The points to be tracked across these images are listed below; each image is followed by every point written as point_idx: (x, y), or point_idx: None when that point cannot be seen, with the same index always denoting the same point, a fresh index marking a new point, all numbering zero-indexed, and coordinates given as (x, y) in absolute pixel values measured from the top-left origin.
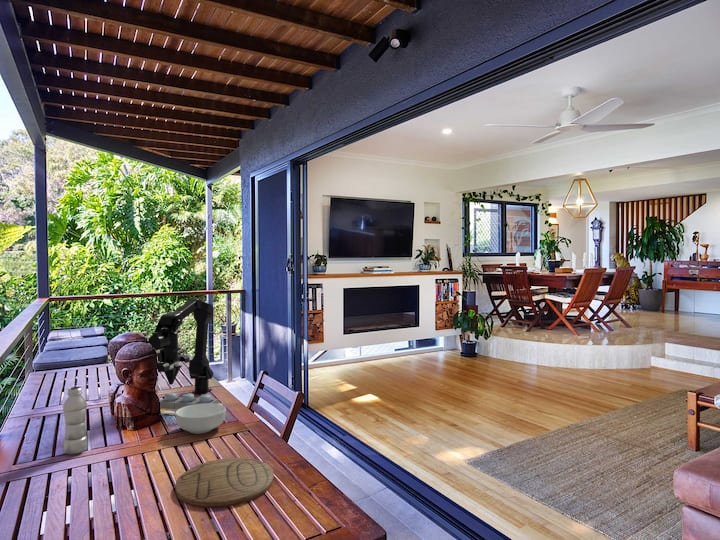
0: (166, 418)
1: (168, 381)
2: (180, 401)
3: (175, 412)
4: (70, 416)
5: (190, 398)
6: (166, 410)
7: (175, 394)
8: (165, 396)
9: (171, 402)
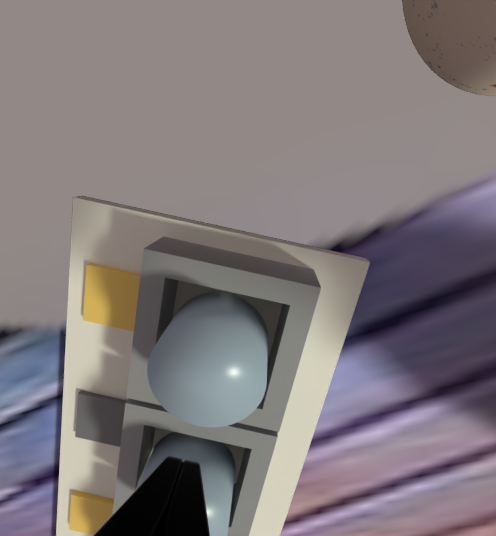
0: (8, 358)
1: (132, 497)
2: (176, 428)
3: (76, 397)
4: None
5: None
6: (109, 326)
7: (193, 423)
8: (166, 330)
9: (130, 377)
